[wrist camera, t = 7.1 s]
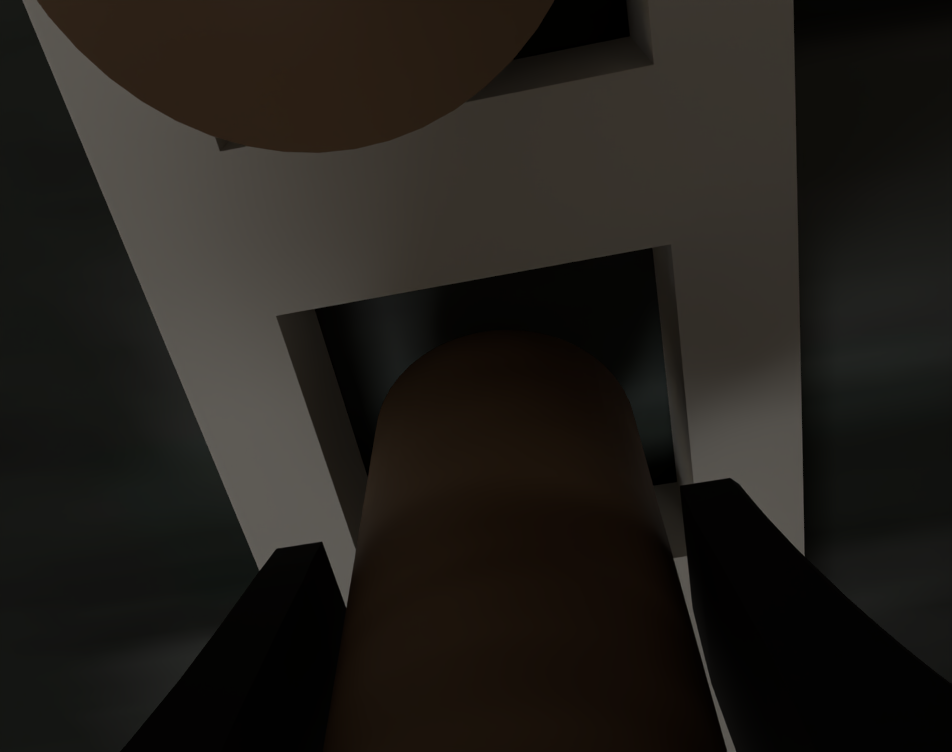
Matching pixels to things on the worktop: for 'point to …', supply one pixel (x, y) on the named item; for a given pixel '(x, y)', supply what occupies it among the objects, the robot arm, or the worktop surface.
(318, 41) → the pin
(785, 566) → the robot arm
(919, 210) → the worktop surface
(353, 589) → the walnut pin
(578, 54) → the peg board
